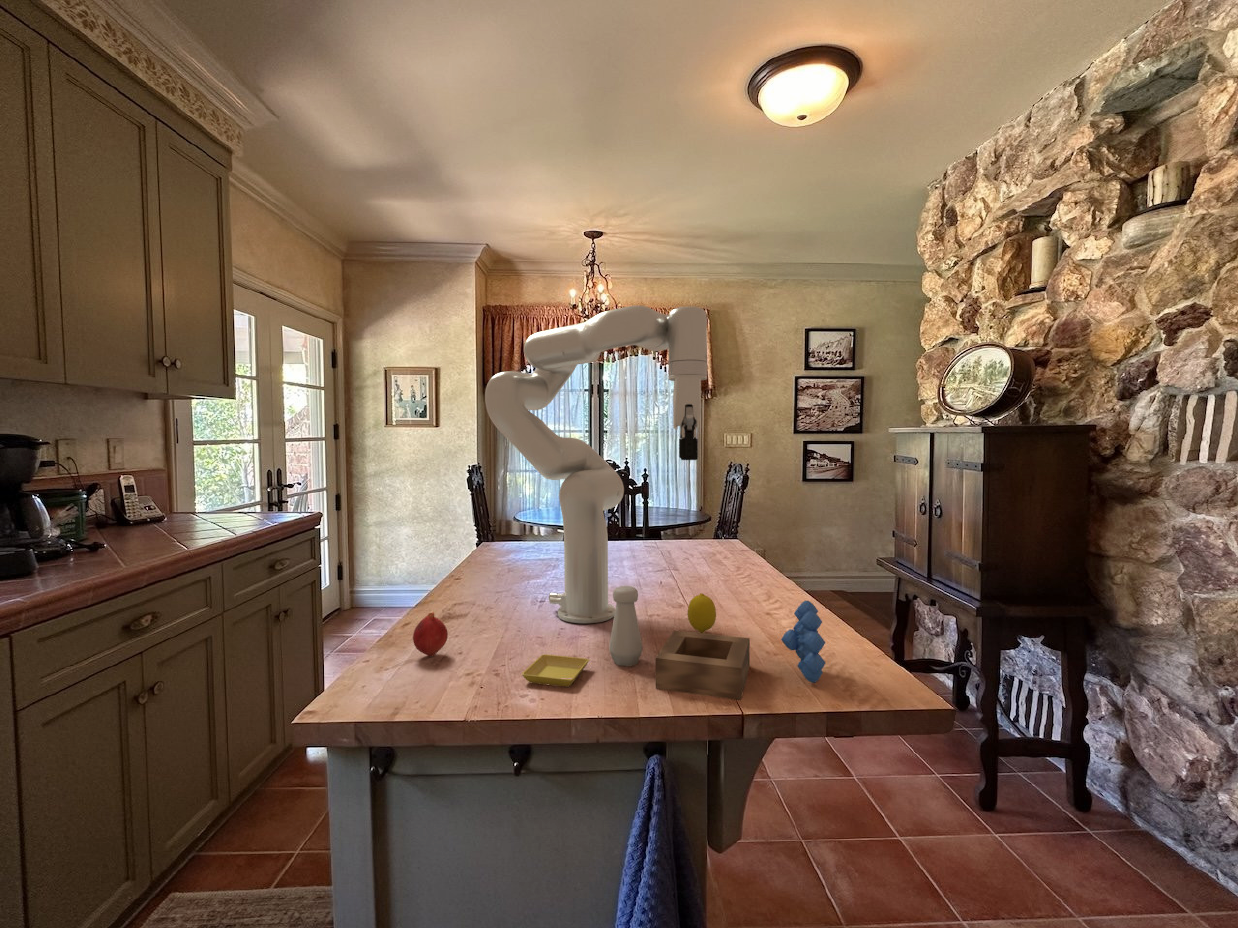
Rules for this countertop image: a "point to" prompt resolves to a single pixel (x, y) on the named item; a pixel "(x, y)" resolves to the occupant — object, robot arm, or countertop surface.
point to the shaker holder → (703, 664)
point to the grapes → (807, 641)
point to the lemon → (701, 613)
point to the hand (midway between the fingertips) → (688, 459)
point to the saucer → (555, 670)
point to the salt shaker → (625, 628)
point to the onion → (430, 635)
